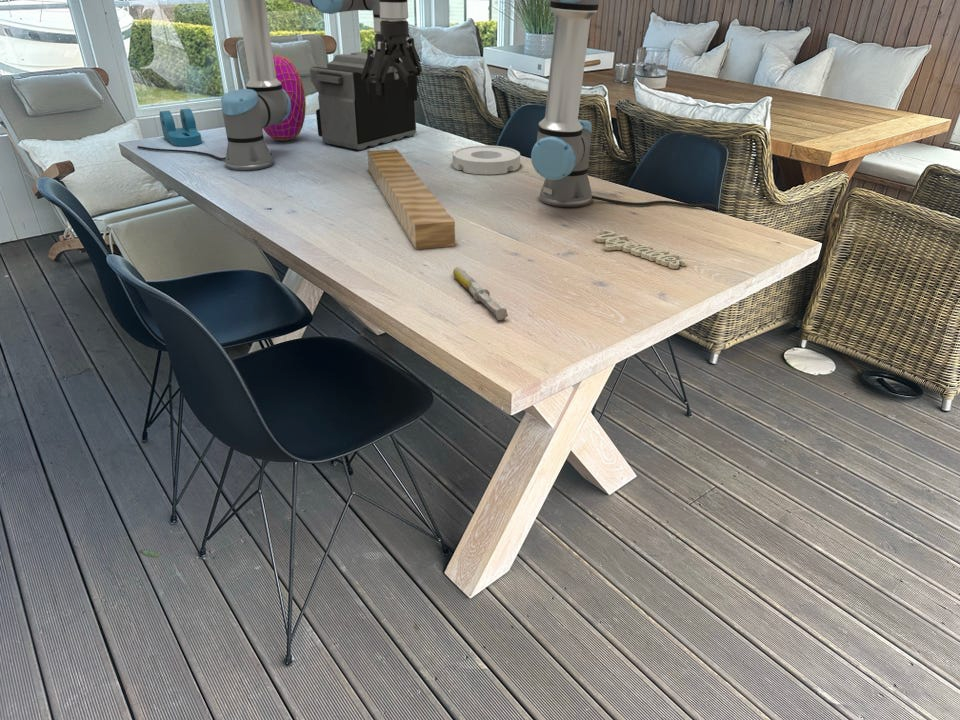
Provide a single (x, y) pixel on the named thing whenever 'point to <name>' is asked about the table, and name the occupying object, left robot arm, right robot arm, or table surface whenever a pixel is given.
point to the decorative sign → (639, 249)
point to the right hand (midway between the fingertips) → (398, 103)
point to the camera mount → (180, 135)
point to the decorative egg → (297, 97)
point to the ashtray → (486, 159)
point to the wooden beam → (411, 201)
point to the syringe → (479, 293)
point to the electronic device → (359, 105)
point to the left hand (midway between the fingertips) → (391, 106)
